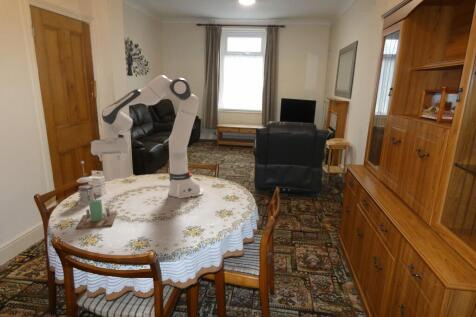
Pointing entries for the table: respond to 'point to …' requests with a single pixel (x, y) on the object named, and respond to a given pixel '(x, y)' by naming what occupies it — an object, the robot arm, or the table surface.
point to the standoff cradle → (105, 222)
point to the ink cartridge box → (98, 183)
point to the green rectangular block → (96, 210)
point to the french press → (85, 190)
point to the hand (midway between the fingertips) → (110, 159)
